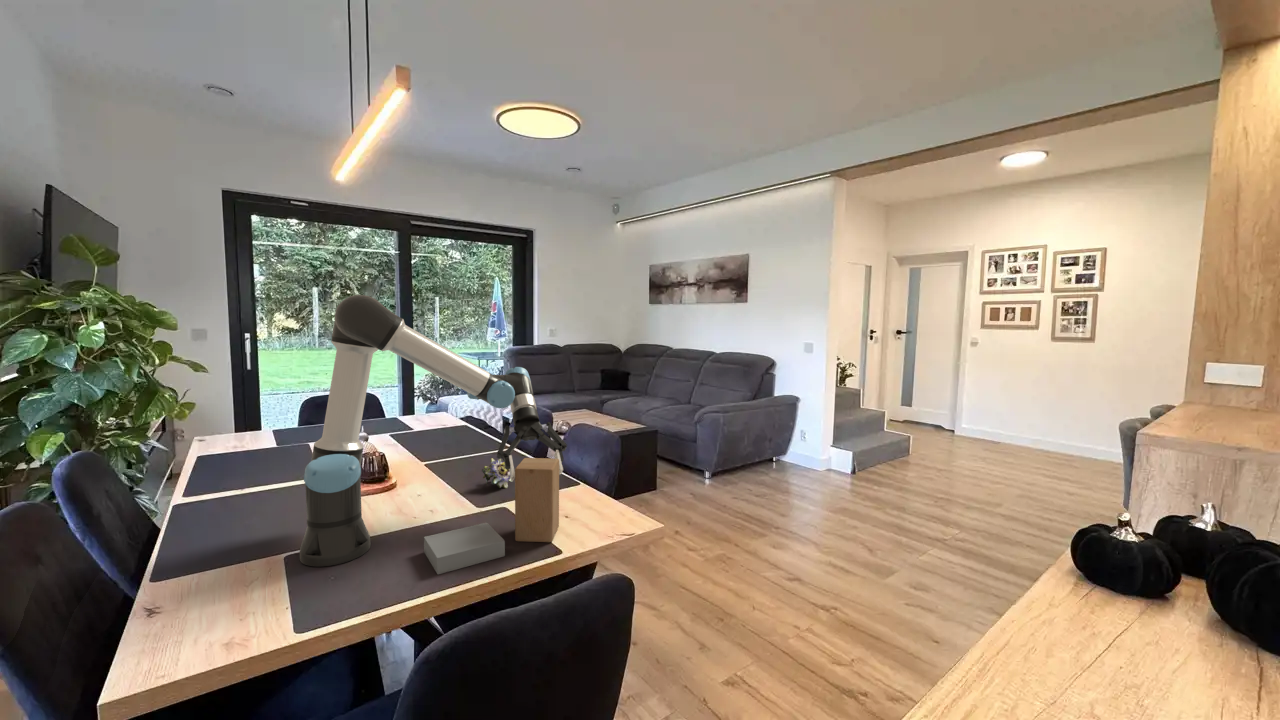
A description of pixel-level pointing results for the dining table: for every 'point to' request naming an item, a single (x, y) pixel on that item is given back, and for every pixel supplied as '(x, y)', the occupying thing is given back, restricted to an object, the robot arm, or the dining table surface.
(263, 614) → the dining table surface
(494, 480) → the passion flower
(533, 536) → the wooden block
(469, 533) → the plinth
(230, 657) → the dining table surface
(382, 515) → the dining table surface
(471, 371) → the robot arm
